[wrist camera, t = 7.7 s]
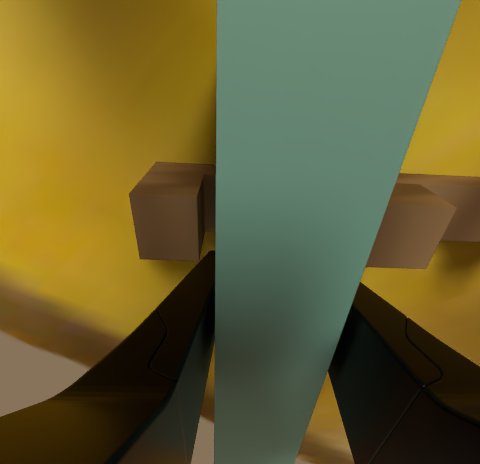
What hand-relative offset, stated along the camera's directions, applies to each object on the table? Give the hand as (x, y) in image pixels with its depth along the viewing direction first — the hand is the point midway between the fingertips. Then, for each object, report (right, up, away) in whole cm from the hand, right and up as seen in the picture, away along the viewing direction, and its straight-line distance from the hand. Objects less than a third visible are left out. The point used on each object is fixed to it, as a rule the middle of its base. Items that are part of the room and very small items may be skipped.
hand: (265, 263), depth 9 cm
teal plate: (0, +2, +4) cm, 5 cm away
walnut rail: (+5, +3, +5) cm, 8 cm away
